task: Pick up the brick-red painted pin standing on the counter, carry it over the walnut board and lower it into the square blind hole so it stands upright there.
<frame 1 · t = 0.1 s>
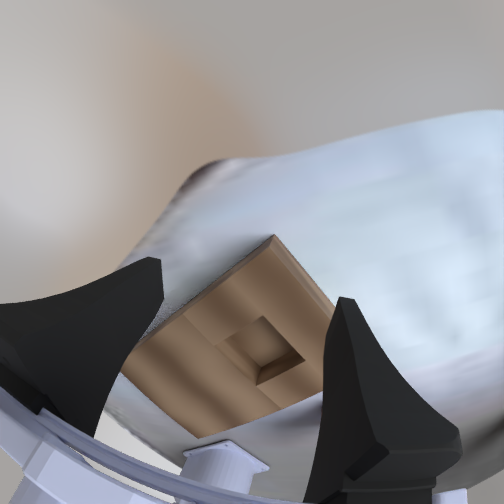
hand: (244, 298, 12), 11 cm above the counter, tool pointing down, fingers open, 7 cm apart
board: (231, 352, 26), on the counter
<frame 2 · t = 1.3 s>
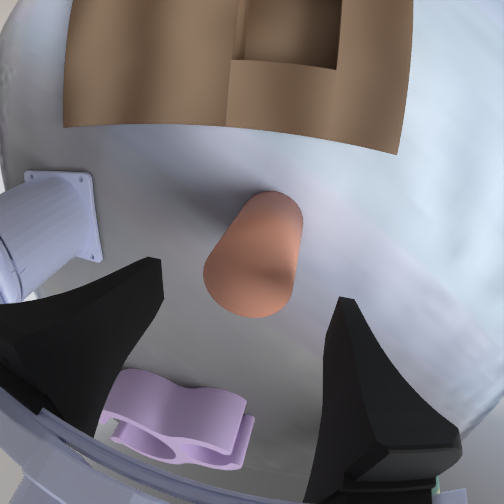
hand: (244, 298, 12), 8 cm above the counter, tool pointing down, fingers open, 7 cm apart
pin: (271, 221, 19), on the counter
board: (224, 28, 14), on the counter
clip: (176, 400, 33), on the counter
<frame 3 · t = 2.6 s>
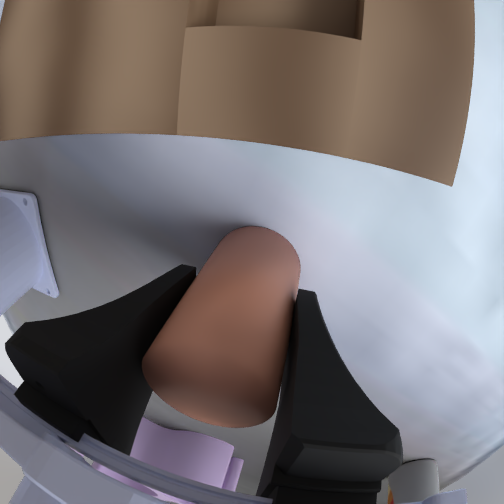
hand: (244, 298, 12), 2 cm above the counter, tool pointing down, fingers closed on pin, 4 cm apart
pin: (256, 266, 14), on the counter, touching gripper
lotion bottle: (412, 466, 22), on the counter
clip: (158, 436, 28), on the counter
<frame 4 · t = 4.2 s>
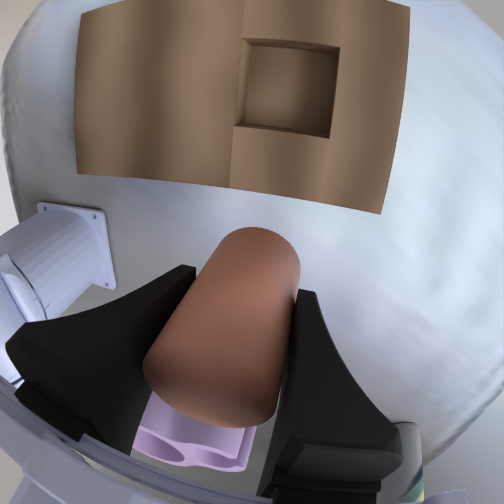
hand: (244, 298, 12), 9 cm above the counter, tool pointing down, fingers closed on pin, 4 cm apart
pin: (256, 267, 14), point 7 cm above the counter, touching gripper
lotion bottle: (397, 430, 30), on the counter
board: (226, 83, 16), on the counter
clip: (184, 407, 36), on the counter
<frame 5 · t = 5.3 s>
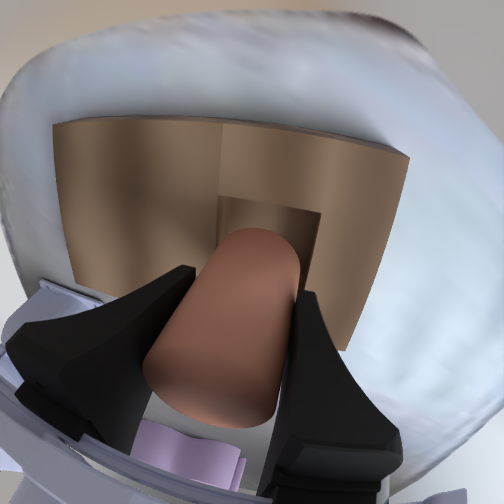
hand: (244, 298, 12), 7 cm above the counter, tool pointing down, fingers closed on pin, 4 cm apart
pin: (256, 267, 14), point 5 cm above the counter, touching gripper
lotion bottle: (370, 467, 32), on the counter
board: (208, 215, 18), on the counter
clip: (182, 442, 38), on the counter
when the fingers open (4 cm above the counter, at t = 6.4 s): pin stays where it is, resting on board.
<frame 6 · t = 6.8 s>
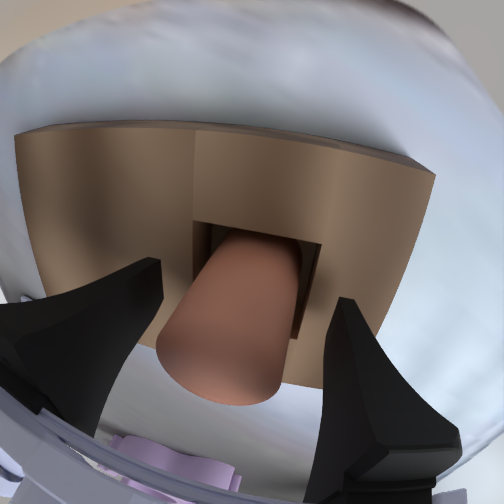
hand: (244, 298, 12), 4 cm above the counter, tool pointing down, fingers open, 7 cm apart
pin: (260, 257, 14), point 1 cm above the counter, touching board
board: (187, 237, 15), on the counter
clip: (176, 458, 35), on the counter
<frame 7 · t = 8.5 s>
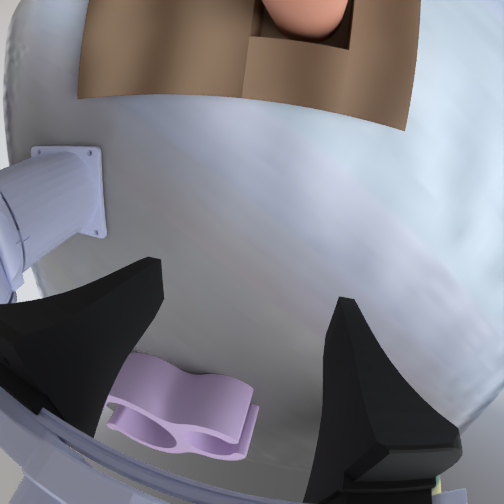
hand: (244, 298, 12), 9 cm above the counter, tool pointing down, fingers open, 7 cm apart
pin: (306, 14, 13), point 1 cm above the counter, touching board
board: (241, 10, 14), on the counter
clip: (178, 387, 33), on the counter
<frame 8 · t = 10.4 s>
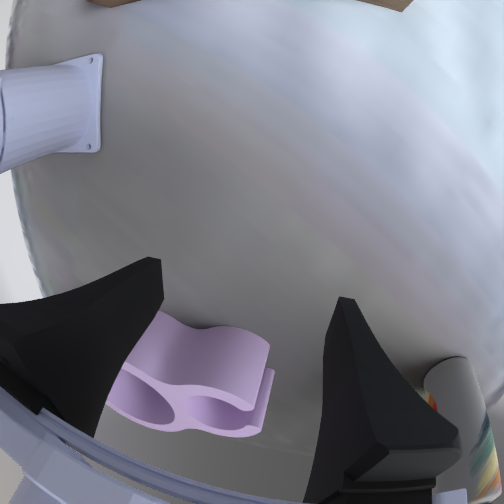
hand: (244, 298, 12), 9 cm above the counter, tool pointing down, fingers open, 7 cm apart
lotion bottle: (446, 372, 23), on the counter
clip: (178, 350, 29), on the counter
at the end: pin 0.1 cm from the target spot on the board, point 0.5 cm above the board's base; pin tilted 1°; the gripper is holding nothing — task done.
